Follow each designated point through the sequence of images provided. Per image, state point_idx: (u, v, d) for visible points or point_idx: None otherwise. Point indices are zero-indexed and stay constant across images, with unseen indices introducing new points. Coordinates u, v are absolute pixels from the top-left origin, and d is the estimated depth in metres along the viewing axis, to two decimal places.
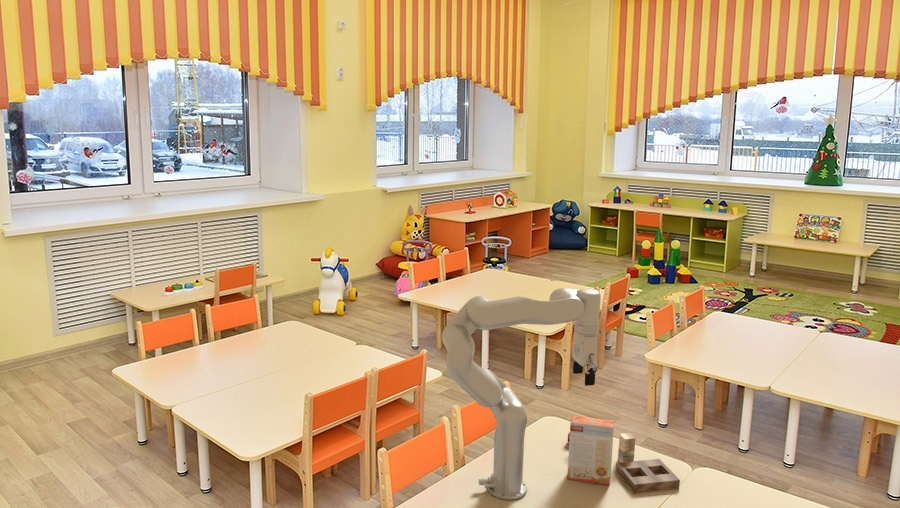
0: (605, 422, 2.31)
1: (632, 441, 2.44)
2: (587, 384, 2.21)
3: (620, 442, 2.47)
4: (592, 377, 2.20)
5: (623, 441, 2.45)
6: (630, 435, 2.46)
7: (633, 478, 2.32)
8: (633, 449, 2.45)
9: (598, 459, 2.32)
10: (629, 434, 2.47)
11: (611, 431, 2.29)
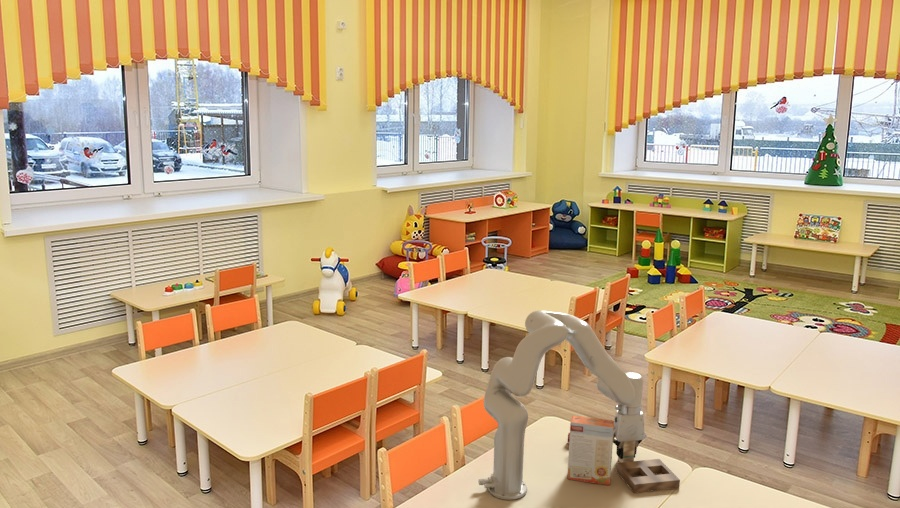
0: (605, 423, 2.31)
1: None
2: None
3: None
4: None
5: None
6: None
7: (633, 478, 2.32)
8: (633, 449, 2.45)
9: (598, 459, 2.32)
10: None
11: (611, 431, 2.29)
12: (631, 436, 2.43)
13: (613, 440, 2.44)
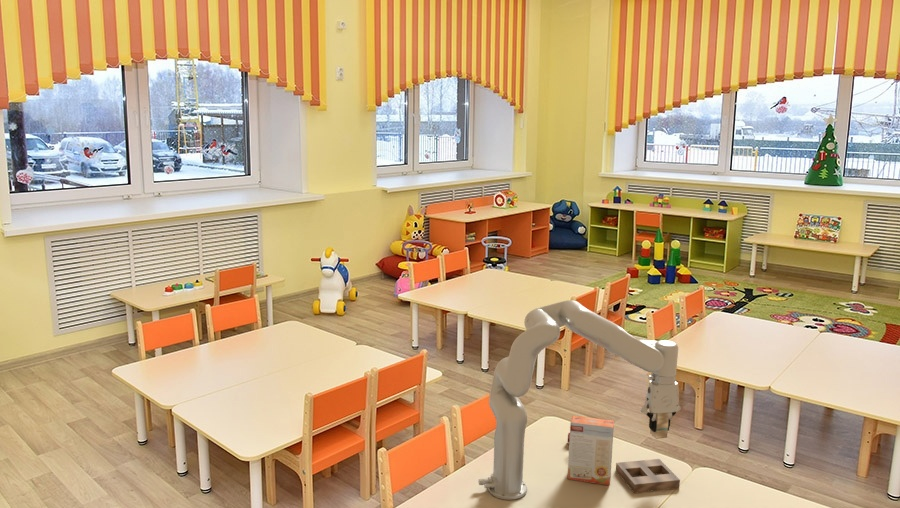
0: (605, 423, 2.31)
1: None
2: None
3: None
4: None
5: None
6: None
7: (633, 478, 2.32)
8: (667, 421, 2.33)
9: (598, 459, 2.32)
10: None
11: (611, 431, 2.29)
12: (665, 407, 2.30)
13: (646, 412, 2.32)
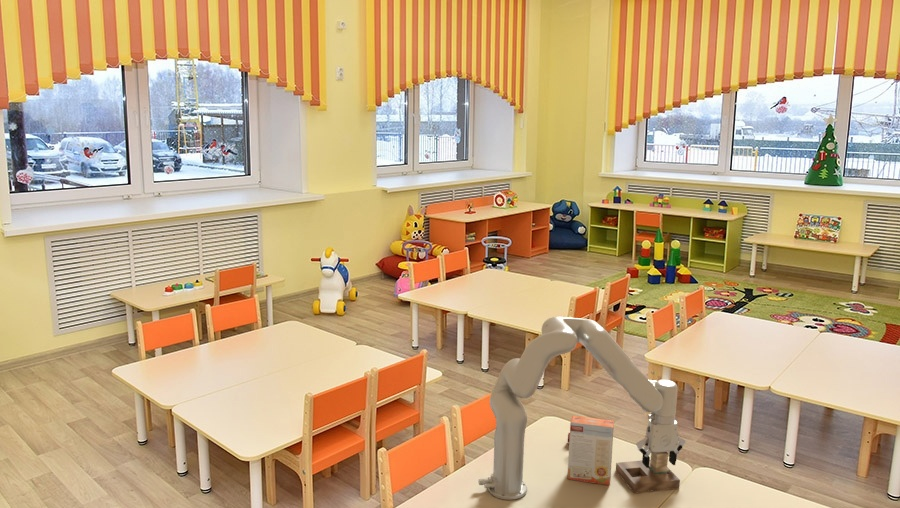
0: (605, 422, 2.31)
1: (665, 456, 2.34)
2: None
3: (652, 457, 2.37)
4: None
5: (655, 457, 2.34)
6: None
7: (633, 478, 2.32)
8: (666, 465, 2.35)
9: (598, 459, 2.32)
10: None
11: (611, 431, 2.29)
12: (665, 447, 2.32)
13: (640, 447, 2.33)
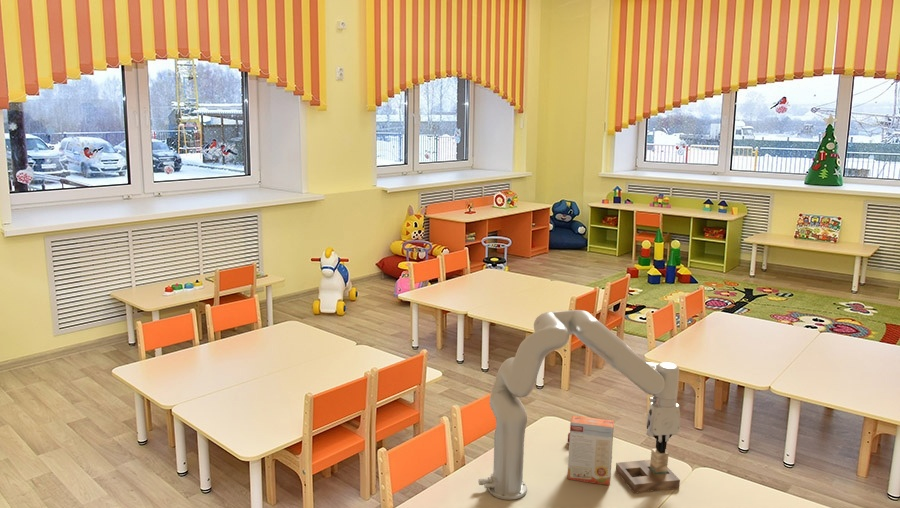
0: (605, 422, 2.31)
1: (665, 456, 2.34)
2: None
3: (652, 457, 2.37)
4: None
5: (655, 457, 2.34)
6: None
7: (633, 478, 2.32)
8: (666, 465, 2.35)
9: (598, 459, 2.32)
10: None
11: (611, 431, 2.29)
12: (666, 429, 2.31)
13: (652, 435, 2.33)
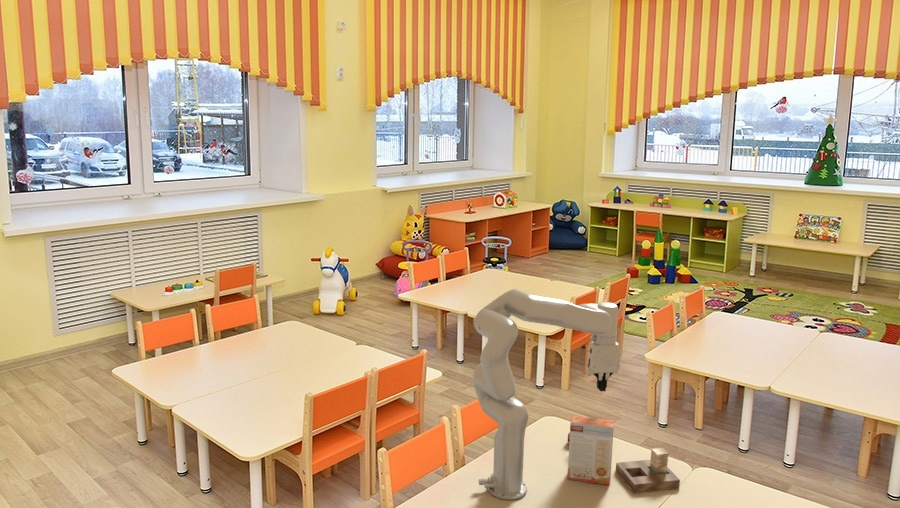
0: (605, 423, 2.31)
1: (665, 456, 2.34)
2: None
3: (652, 457, 2.37)
4: None
5: (655, 457, 2.34)
6: (662, 450, 2.36)
7: (633, 478, 2.32)
8: (666, 465, 2.35)
9: (598, 459, 2.32)
10: (661, 449, 2.37)
11: (611, 431, 2.29)
12: (606, 367, 2.37)
13: (592, 373, 2.39)
